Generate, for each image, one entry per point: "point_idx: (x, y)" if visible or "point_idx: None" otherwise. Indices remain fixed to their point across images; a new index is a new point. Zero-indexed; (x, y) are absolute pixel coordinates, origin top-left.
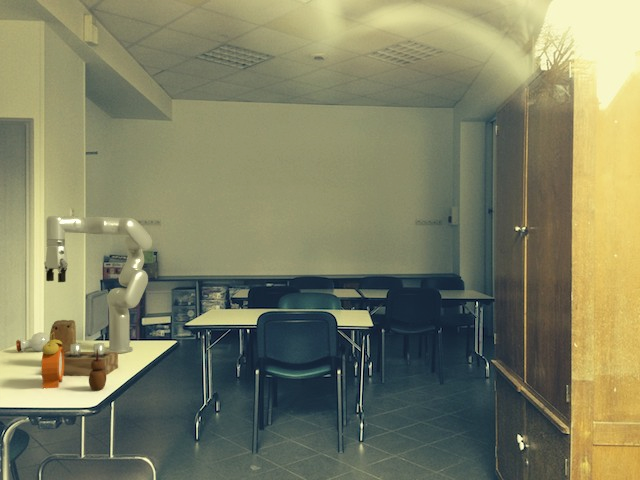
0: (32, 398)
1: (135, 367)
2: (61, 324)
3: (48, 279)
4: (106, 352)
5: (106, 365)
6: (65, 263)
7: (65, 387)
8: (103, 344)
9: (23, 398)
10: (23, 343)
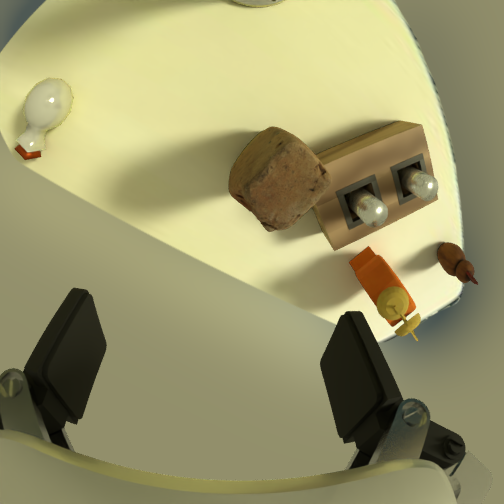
0: None
1: (426, 107)
2: (303, 214)
3: (98, 349)
4: (404, 141)
5: None
6: (473, 496)
7: (398, 267)
8: (437, 184)
9: (376, 321)
10: (36, 144)
